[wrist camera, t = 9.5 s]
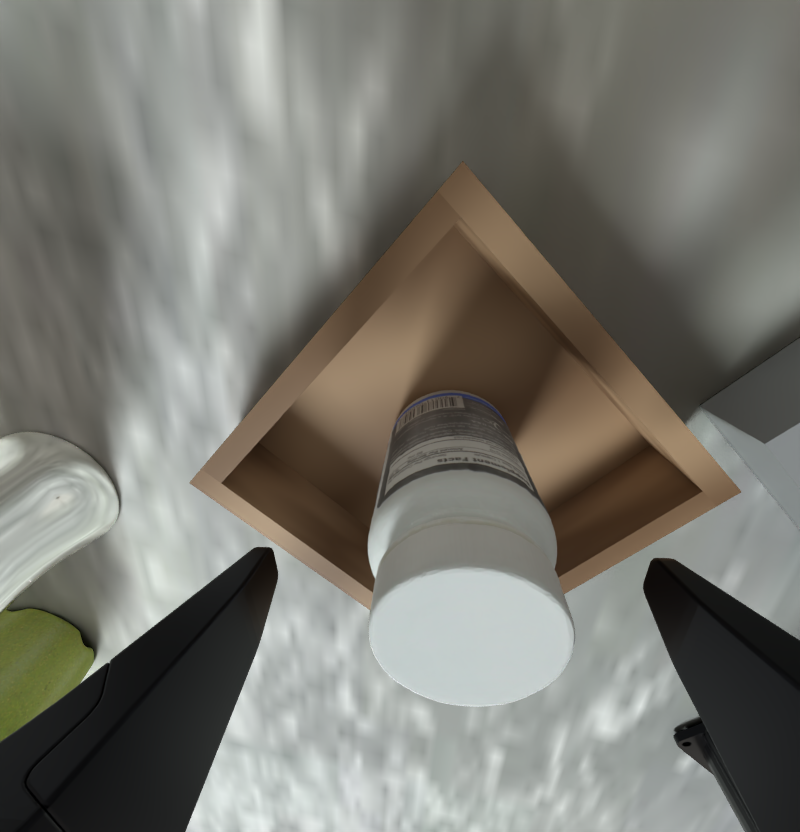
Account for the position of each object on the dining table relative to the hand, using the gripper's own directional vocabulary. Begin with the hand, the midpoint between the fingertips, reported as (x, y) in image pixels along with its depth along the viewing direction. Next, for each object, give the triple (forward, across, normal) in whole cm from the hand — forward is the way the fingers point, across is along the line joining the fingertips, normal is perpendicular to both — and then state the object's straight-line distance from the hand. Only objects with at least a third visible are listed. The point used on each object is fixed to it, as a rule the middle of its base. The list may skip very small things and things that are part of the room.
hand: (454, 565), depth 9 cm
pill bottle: (+7, 0, 0) cm, 7 cm away
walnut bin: (+7, 0, 0) cm, 7 cm away
